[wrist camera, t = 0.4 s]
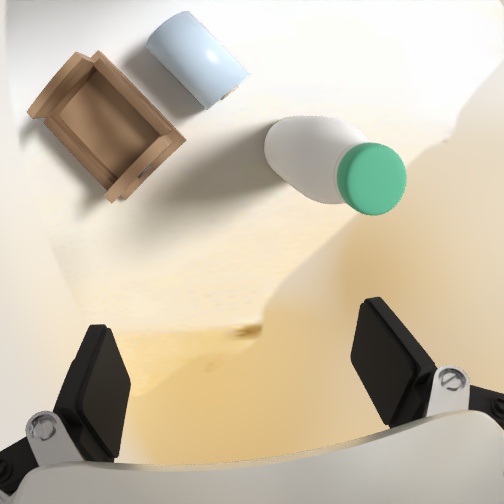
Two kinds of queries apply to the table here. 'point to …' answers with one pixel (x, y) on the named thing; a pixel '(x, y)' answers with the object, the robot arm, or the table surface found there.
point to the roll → (196, 58)
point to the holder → (106, 123)
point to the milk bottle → (335, 163)
